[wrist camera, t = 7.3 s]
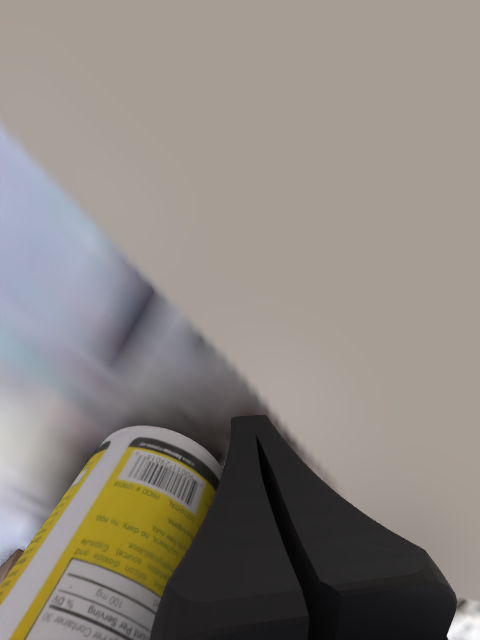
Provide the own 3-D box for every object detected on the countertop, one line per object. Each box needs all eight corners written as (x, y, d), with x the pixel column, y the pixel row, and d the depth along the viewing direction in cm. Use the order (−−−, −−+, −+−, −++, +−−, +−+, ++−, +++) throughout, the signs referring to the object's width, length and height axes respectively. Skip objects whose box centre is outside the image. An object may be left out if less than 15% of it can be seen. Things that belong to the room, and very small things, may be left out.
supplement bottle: (139, 512, 15) (-91, 978, 7) (80, 424, 13) (-368, 954, 5) (251, 515, 13) (125, 1158, 5) (205, 414, 11) (-164, 1262, 3)
